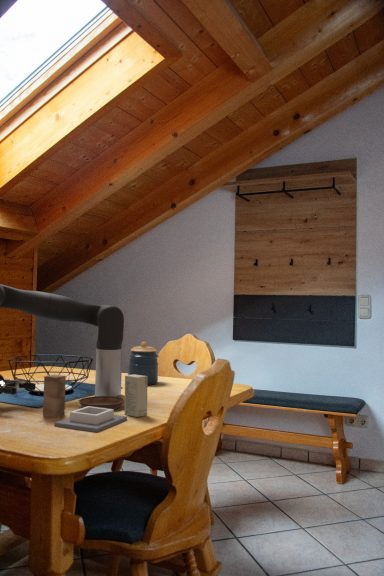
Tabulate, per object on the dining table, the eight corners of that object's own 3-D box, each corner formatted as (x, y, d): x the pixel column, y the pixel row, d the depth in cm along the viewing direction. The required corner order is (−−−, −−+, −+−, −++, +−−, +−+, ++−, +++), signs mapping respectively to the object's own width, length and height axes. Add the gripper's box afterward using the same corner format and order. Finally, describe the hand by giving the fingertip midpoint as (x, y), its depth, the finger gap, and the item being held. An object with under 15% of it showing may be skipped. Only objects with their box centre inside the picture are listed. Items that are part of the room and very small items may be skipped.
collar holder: (87, 414, 157) (87, 403, 157) (126, 419, 152) (127, 408, 152) (54, 426, 142) (54, 413, 142) (96, 432, 137) (97, 419, 137)
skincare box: (147, 415, 158) (148, 376, 158) (137, 417, 155) (138, 377, 155) (133, 412, 162) (135, 373, 162) (123, 414, 159) (124, 374, 159)
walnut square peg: (52, 413, 157) (53, 374, 158) (64, 415, 156) (65, 375, 156) (42, 416, 153) (44, 376, 154) (55, 418, 152) (56, 377, 152)
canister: (130, 380, 224) (131, 340, 224) (159, 381, 224) (160, 340, 224) (124, 385, 211) (126, 342, 211) (156, 386, 211) (157, 343, 211)
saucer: (75, 404, 172) (75, 396, 172) (118, 402, 177) (118, 394, 177) (82, 414, 158) (82, 405, 158) (128, 411, 164) (128, 403, 164)
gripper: (-31, 375, 159) (9, 379, 152) (2, 369, 172) (41, 373, 166) (-32, 399, 159) (8, 405, 152) (1, 392, 172) (40, 397, 165)
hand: (25, 388), depth 159 cm, fingers open, 8 cm apart
